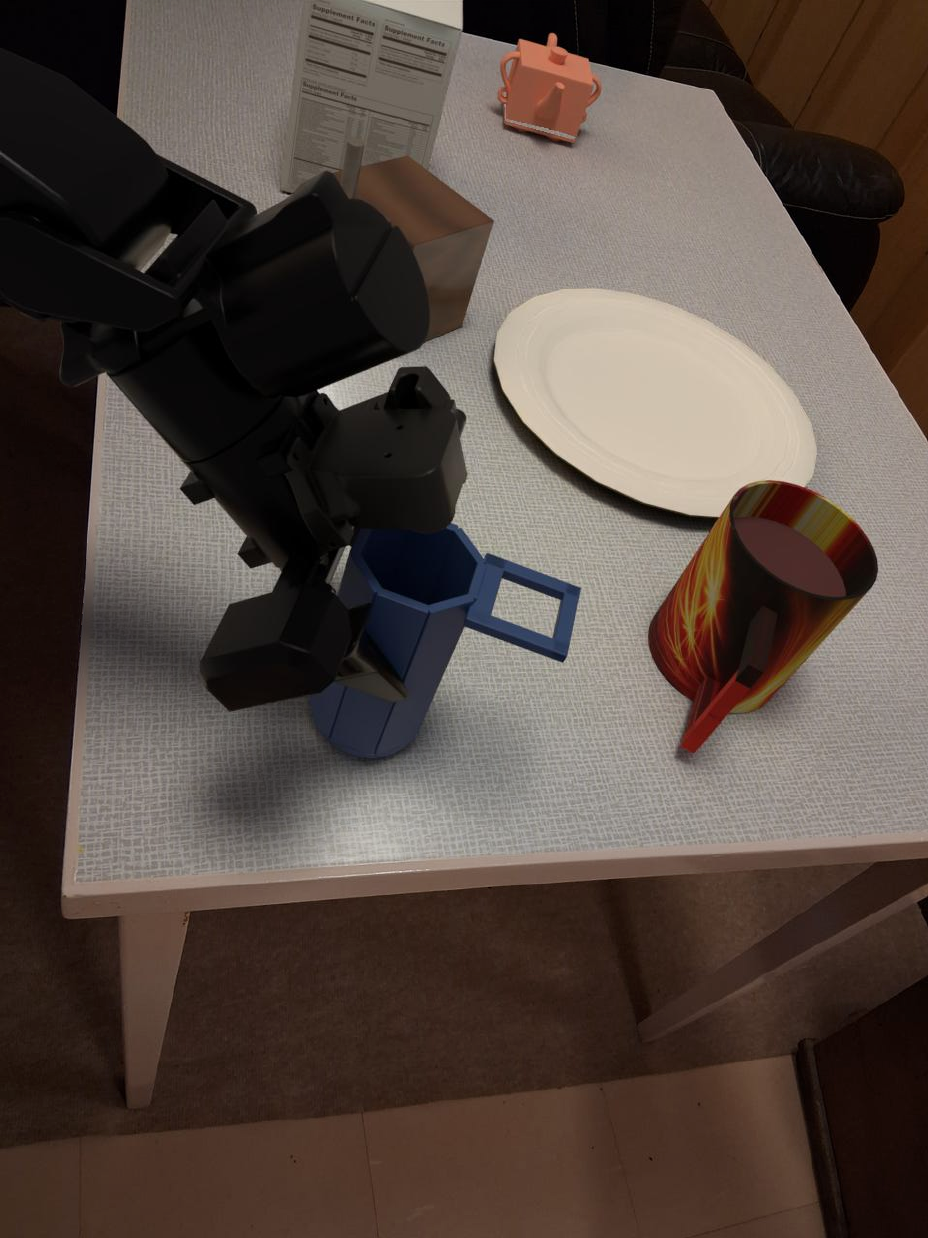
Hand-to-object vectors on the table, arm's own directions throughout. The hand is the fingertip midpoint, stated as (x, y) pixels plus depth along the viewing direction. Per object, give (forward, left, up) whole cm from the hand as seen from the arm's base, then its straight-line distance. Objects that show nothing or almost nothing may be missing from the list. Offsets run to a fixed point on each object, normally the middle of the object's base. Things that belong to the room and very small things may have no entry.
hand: (416, 649), depth 51 cm
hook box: (-14, +37, -7) cm, 41 cm away
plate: (+11, +40, -7) cm, 42 cm away
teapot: (-10, +85, -7) cm, 86 cm away
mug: (+20, +13, -7) cm, 25 cm away
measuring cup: (+1, 0, -7) cm, 7 cm away
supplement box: (-23, +58, -7) cm, 63 cm away
